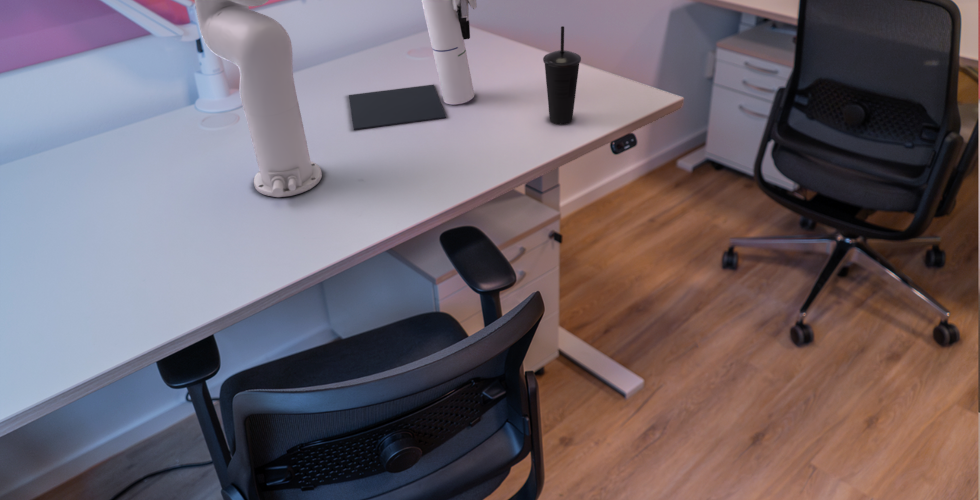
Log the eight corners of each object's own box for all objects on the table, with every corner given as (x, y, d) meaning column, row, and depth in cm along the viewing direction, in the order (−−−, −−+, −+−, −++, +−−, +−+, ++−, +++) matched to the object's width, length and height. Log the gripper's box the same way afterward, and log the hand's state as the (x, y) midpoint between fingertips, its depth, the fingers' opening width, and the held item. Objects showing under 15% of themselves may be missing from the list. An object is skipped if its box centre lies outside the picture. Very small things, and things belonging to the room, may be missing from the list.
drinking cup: (578, 111, 158) (582, 20, 146) (579, 127, 152) (582, 33, 140) (543, 111, 159) (543, 20, 147) (542, 127, 152) (542, 33, 141)
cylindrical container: (438, 96, 167) (414, -12, 152) (466, 87, 169) (445, -22, 154) (450, 107, 162) (426, -4, 147) (479, 97, 164) (458, -14, 149)
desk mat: (446, 118, 158) (446, 116, 158) (353, 130, 155) (353, 128, 155) (433, 86, 172) (433, 84, 172) (348, 96, 169) (348, 95, 169)
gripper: (482, -44, 142) (486, 48, 153) (468, -61, 154) (472, 25, 164) (444, -40, 141) (451, 52, 151) (433, -58, 153) (439, 29, 163)
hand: (462, 38), depth 158 cm, fingers closed
